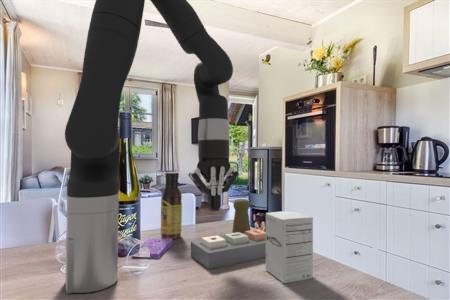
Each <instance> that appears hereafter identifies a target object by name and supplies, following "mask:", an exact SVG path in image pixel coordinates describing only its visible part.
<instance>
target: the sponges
mask: <svg viewBox="0 0 450 300" xmlns="http://www.w3.org/2000/svg"><path fill="white" fill-rule="evenodd" d="M173 241H174V240H173V239H172V238H169V239H168V238H167V239H166V238H165V239H164V238H162V237H161V238H153V237H152V238H151V237H149V238H148V239H146V240H145V242H143V243H142V244H141V245H140V246H141V247H140V248H143V247H148V248H149V249H150V257H151V258H150V259H160V258H161V257H162V256H163V254H165V252H166V251H167V250H169V248H170V247H171V246H172V245H173ZM137 253H138V252H137Z"/></svg>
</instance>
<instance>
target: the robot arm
mask: <svg viewBox="0 0 450 300" xmlns="http://www.w3.org/2000/svg"><path fill="white" fill-rule="evenodd" d="M149 1H150V2H151V3H152V5H153V6H154V7H155V9H156V10H157V12H158V13H159V15H160V16H161V17H162V19H163V20H164V22H165V23H166V25H167V26H168V27H169V28H168V29H170V32H171V33H172V34H173V36H174V37H175V39H176V41H177V43H178V45H179V46H180V47H181V49H182V51H183V52H185V54H187V55H194V56H196V58H197V59H198V60H199V62H198V63H196V66H195V68H194V70H193V71H194V73H193V84H194V87H195V88H194V89H195V92H196V97H197V101H198V104H199V105H198V130H197V132H198V133H197V139H198V140H197V141H198V142H197V143H198V144H197V145H198V148H197V149H198V152H197V153H198V154H197V155H198V163H197V164H196V168H195V170H193V171H192V172H189V173H188V177H189V178H190V180H191V181H192V182H193V184H194V185H195V187H197V189H198V190H199V192H201V193H202V194H205V195H207V207H208V209H209V211H210V212H219V211H220V208H221V207H222V197H221V196H222V195H223V193H228V192H229V189H231V186H232V185H233V183H234V182H235V181H236V180H237V178H238V175H239V171H238V170H235V169H233V168H232V167H231V163H230V161H229V159H230V126H229V106H228V105H229V104H228V103H229V102H228V99H227V97H225V96H224V95H221V94H220V90H219V85H223V84H225V83H227V82H228V81H230V80H231V79H232V76H233V74H234V73H233V72H234V67H233V63H232V60H231V59H230V57H229V55H228V54H227V52H226V51H225V50H224V49H223V48H222V47H221V45H219V44H218V42H217V41H216V40H215V39H214V38H213V37H212V36H211V35H210V34H209V33H208V32H207V29H206V28H205V26H204V24H203V22H202V21H201V19H200V17H199V15H198V14H197V12H196V11H195V8H194V7H193V6H192V5H191V4H190V2H189V1H187V0H149ZM145 2H146V0H95V2H94V5H93V9H92V12H91V18H90V20H89V27H88V31H87V37H86V42H85V43H86V44H85V48H84V49H85V50H84V54H83V55H84V56H83V62H82V72H81V73H82V74H81V78H80V83H79V86H78V91H77V93H76V96H75V100H74V103H73V105H72V108H71V111H70V114H69V117H68V119H67V123H66V125H65V129H64V139H65V143H66V146H67V147H68V149H69V150H70V168H69V169H70V170H69V176H68V180H67V183H66V232H65V233H66V234H65V276H64V277H65V282H64V283H65V294H72V293H74V294H75V293H76V294H77V293H78V294H84V293H86V294H87V293H92V292H93V293H94V292H99V291H101V290H105V289H107V288H109V287H111V286H113V285H114V284H116V282H117V281H118V276H119V275H118V273H119V266H118V265H119V262H118V261H119V260H118V259H119V191H120V190H119V185H120V152H121V151H120V150H121V149H120V143H121V141H120V131H119V115H120V108H121V99H122V93H123V89H124V86H125V83H126V81H127V78H128V76H129V74H130V71H131V68H132V66H133V62H134V60H135V58H136V57H135V56H136V52H137V49H138V44H139V40H140V39H139V38H140V35H141V29H142V22H143V21H142V20H143V16H144V11H145ZM201 178H203V179H204V181H203V180H202V179H201Z"/></svg>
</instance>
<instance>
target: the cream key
mask: <svg viewBox="0 0 450 300" xmlns="http://www.w3.org/2000/svg"><path fill="white" fill-rule="evenodd" d="M221 237H222V236H219V235H217V234H216V235H211V236H205V237H203V236H202V237H201V238H200V240H201V245H203V246H204V247H206V248H207V249H213V248H219V247H225V246H226V240H225V239H223V238H221Z"/></svg>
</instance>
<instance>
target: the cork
mask: <svg viewBox="0 0 450 300" xmlns="http://www.w3.org/2000/svg"><path fill="white" fill-rule="evenodd" d="M250 206H251V205H250V202H249V200H248V199H245V198H238V199H235V200H234V201H233V206H232V207H233V208H234V216H233V223H232V232H231V233H236V232H240V233H242V234H243V233H245V231H250V230H251V224H250V216H249V209H250Z"/></svg>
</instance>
